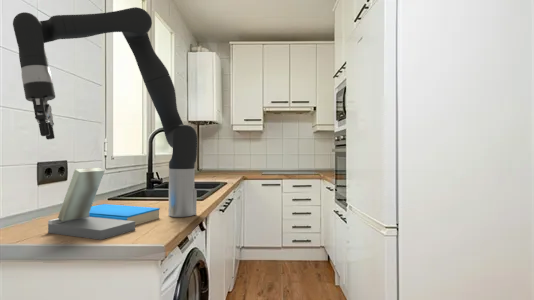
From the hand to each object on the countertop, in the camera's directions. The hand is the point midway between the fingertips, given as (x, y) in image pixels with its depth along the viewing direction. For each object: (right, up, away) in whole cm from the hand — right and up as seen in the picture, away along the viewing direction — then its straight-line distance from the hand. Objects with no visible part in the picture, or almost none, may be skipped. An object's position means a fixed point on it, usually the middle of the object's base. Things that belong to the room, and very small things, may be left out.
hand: (48, 137), depth 105 cm
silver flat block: (+10, -17, +1) cm, 20 cm away
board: (+13, -28, 0) cm, 31 cm away
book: (+12, -28, +17) cm, 35 cm away
